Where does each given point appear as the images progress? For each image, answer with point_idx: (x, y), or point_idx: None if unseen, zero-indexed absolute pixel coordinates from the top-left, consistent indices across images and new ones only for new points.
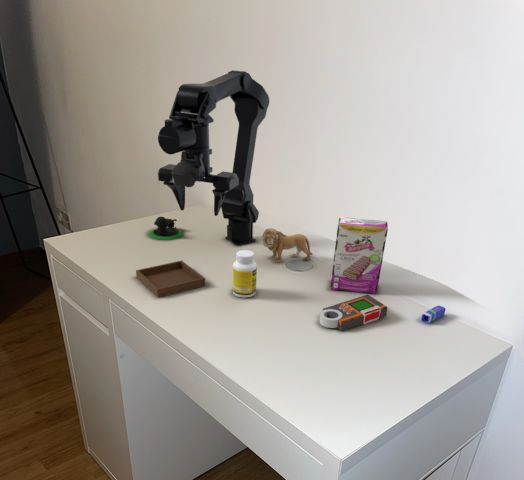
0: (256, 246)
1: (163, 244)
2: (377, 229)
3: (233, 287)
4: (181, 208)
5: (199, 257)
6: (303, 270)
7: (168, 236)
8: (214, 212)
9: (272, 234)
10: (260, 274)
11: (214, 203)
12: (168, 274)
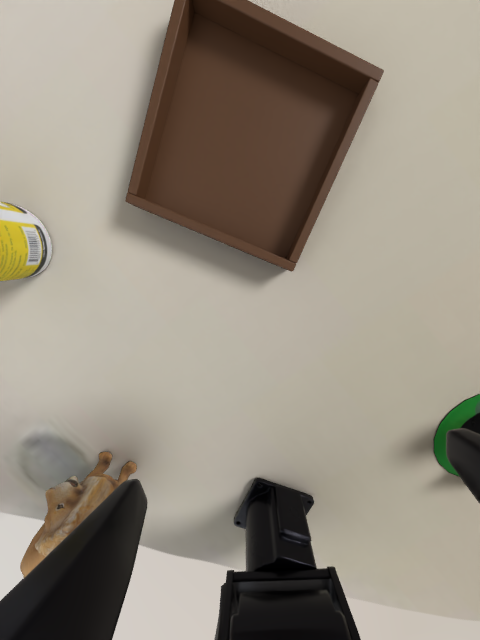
0: (214, 499)
1: (449, 373)
2: None
3: (6, 205)
4: (470, 439)
5: (293, 362)
6: (27, 449)
7: (466, 419)
8: (117, 504)
9: (46, 529)
10: (83, 371)
11: (12, 636)
12: (281, 184)
